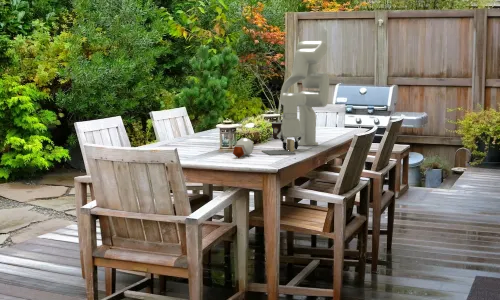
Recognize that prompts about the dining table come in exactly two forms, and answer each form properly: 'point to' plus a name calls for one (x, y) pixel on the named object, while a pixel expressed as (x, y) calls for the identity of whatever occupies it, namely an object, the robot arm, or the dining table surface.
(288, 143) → the oak slab
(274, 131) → the coffee mug
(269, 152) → the mat
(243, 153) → the potion bottle
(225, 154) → the dining table surface
